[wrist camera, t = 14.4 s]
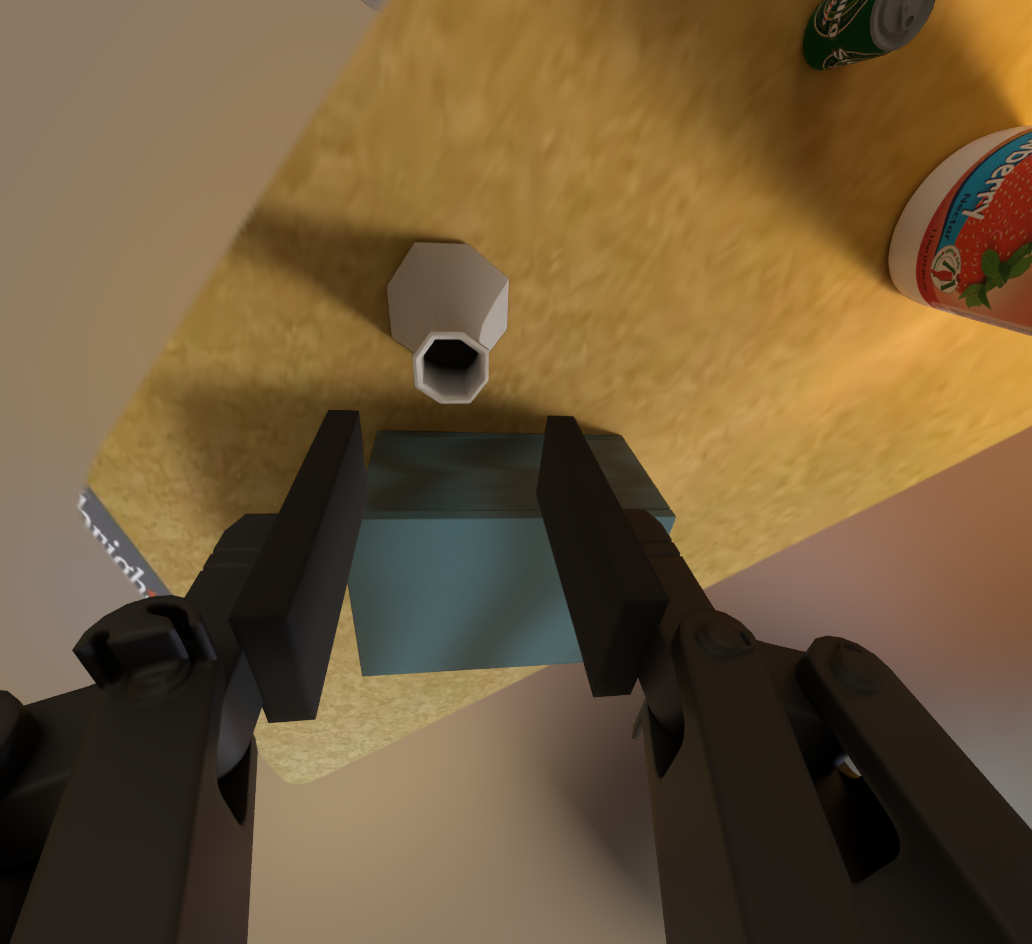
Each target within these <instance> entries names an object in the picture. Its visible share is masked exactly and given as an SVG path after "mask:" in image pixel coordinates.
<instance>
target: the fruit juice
mask: <svg viewBox="0 0 1032 944" xmlns="http://www.w3.org/2000/svg"><path fill="white" fill-rule="evenodd" d="M888 264H889V272H890V276H891V279H892V281H893V283H894V285H895V287H896V288H897V289H898V290H899V292H901V293H902V294H903V295H904V296H905V297H907V298H908V299H910V300H912V301H914V302H916V303H919V304H921V305H924V306H927V307H931V308H934V309H938V310H941V311H945V312H948V313H952V314H955V315H959V316H962V317H966V318H970V319H973V320H977V321H980V322H984V323H987V324H991V325H994V326H998V327H1001V328H1005V329H1008V330H1012V331H1015V332H1019V333H1023V334H1026V335H1030V336H1032V126H1021V127H1015V128H1011V129H1006V130H1001V131H997V132H994V133H991V134H989V135H986V136H983V137H981V138H979V139H977V140H974V141H972V142H971V143H969V144H967V145H965V146H964V147H962V148H960V149H959V150H957V151H956V152H955V153H953V154H952V155H951V156H949V157H948V158H947V159H946V160H944V161H943V162H942V163H941V164H940V165H939V166H938V167H937V168H936V169H934V170H933V171H932V173H931V174H930V175H929V176H928V177H927V178H926V179H925V180H924V181H923V183H922V184H921V185H920V186H919V188H918V189H917V190H916V192H915V193H914V194H913V196H912V197H911V199H910V200H909V202H908V203H907V205H906V207H905V209H904V210H903V212H902V214H901V216H900V218H899V220H898V223H897V225H896V228H895V230H894V233H893V236H892V240H891V244H890V249H889V258H888Z"/></svg>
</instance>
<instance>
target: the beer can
mask: <svg viewBox="0 0 1032 944" xmlns="http://www.w3.org/2000/svg"><path fill="white" fill-rule="evenodd" d="M934 3H935V0H824V1H823V2H822V3H821V4H820V5H819V6H818V7H817V8H816V10H815V11H814V13H813V14H812V16H811V18H810V20H809V22H808V25H807V28H806V30H805V35H804V41H803V48H804V56H805V58H806V61H807V63H808V64H809V65H810V66H811V67H812V68H813V69H817V70H820V71H821V70H827V69H832V68H838V67H842V66H845V65H849V64H853V63H857V62H861V61H865V60H868V59H872V58H876V57H880V56H883V55H885V54H887V53H889V52H891V51H893V50H897V49H899V48H901V47H902V46H904V45H906V44H907V43H908V42H910V41H911V40H912V39H913V38H914V37H915V36H916V35H917V34H918V32H919V31H920V30H921V28H922V27H923V26H924V24H925V23H926V21H927V19H928V17H929V15H930V13H931V11H932V9H933V6H934Z"/></svg>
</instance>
